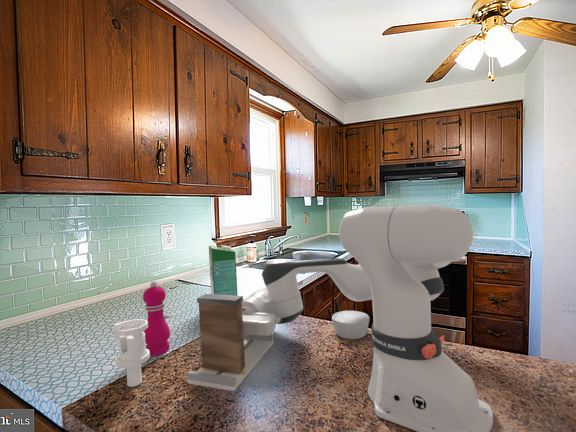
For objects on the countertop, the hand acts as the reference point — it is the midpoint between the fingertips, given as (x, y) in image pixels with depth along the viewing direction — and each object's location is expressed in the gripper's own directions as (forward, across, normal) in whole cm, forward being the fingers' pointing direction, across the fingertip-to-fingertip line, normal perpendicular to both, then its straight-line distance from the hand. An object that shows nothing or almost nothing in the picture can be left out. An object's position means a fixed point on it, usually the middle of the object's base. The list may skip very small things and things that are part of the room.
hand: (224, 334), depth 76 cm
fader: (+2, 0, -7) cm, 8 cm away
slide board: (-4, 0, -9) cm, 10 cm away
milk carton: (-42, +25, -9) cm, 50 cm away
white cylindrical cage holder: (+10, +18, -9) cm, 23 cm away
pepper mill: (-5, +25, -9) cm, 27 cm away
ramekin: (-28, -27, -9) cm, 40 cm away
